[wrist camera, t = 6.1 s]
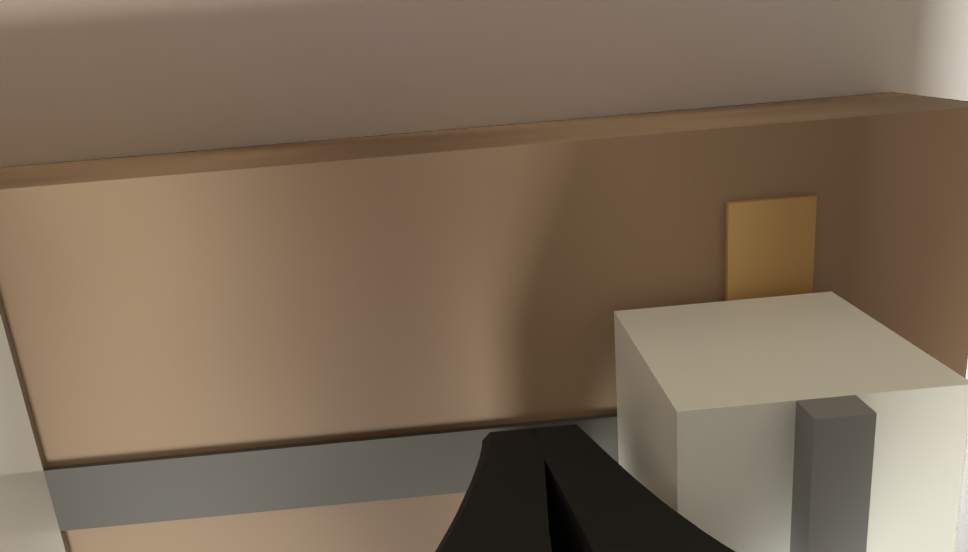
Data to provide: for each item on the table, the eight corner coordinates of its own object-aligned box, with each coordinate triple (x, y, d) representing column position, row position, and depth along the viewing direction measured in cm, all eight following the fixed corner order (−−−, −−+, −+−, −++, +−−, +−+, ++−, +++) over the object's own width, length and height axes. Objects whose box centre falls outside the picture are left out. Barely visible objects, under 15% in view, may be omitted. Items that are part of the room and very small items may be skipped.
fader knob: (622, 583, 12) (688, 786, 9) (613, 311, 11) (688, 430, 7) (817, 563, 12) (955, 758, 9) (831, 291, 11) (1000, 402, 7)
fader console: (-71, 652, 15) (-173, 775, 12) (-233, 187, 12) (-405, 224, 10) (858, 560, 15) (937, 660, 13) (892, 92, 13) (1000, 105, 10)
